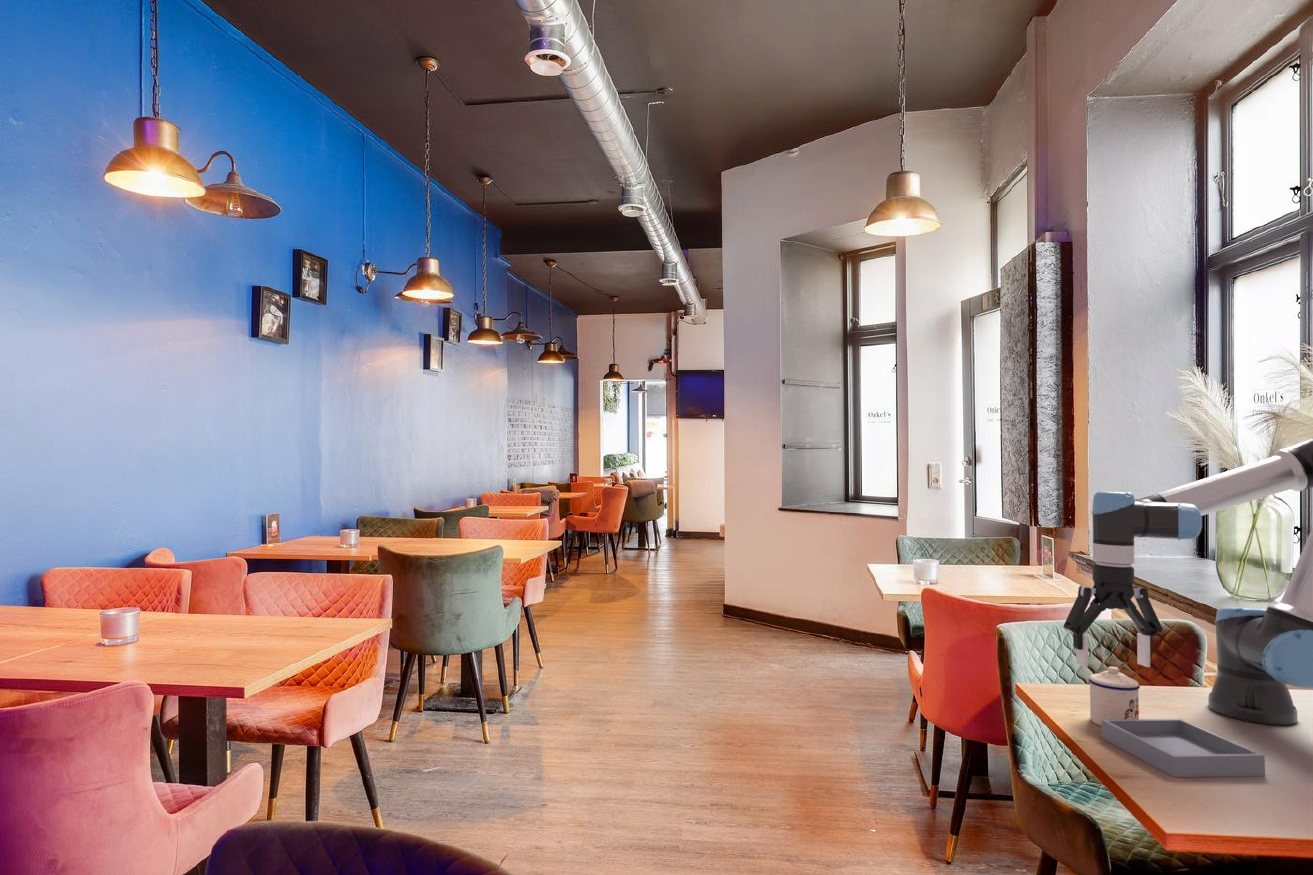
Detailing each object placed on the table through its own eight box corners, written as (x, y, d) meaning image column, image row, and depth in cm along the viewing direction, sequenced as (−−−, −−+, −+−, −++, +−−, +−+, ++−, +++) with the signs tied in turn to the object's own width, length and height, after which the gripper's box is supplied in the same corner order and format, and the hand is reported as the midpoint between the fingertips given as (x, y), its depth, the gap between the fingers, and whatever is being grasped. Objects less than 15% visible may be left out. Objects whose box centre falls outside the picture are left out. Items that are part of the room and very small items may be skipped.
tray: (1181, 736, 145) (1180, 718, 145) (1265, 775, 127) (1264, 755, 127) (1101, 737, 144) (1101, 719, 144) (1174, 777, 126) (1173, 756, 126)
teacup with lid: (1135, 735, 146) (1134, 676, 146) (1084, 723, 152) (1083, 667, 153) (1147, 720, 155) (1146, 664, 155) (1098, 710, 161) (1097, 657, 161)
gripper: (1155, 562, 159) (1155, 660, 159) (1046, 560, 158) (1045, 659, 157) (1182, 567, 152) (1182, 670, 151) (1067, 565, 150) (1067, 669, 150)
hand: (1112, 665), depth 154 cm, fingers open, 13 cm apart
